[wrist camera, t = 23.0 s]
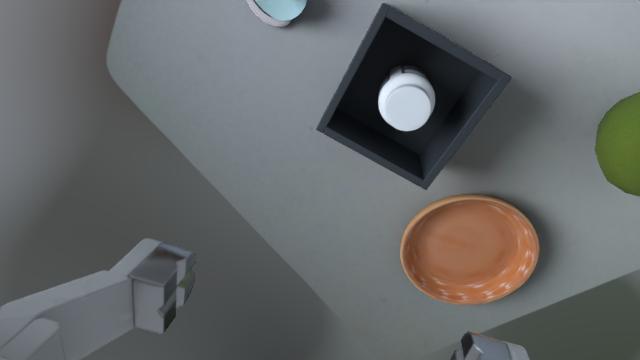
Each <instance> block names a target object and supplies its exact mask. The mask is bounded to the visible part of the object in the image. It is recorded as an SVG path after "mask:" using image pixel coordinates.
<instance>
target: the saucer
mask: <svg viewBox="0 0 640 360" xmlns="http://www.w3.org/2000/svg"><path fill="white" fill-rule="evenodd" d="M539 249H540V248H539V240H538V236H537V233H536V231H535V228H534V227H533V225H532V224H531V222H530V221H529V219H528V218H527V217H526V216H525V215H524V214H523V213H522V212H521V211H519V210H518V209H517V208H516V207H514V206H513V205H511V204H509V203H508V202H506V201H503V200H501V199H498V198H495V197H491V196H487V195H479V194H463V195H456V196H452V197H448V198H444V199H441V200H439V201H437V202H434V203H432V204H431V205H429V206H427V207H426V208H424V209H423V210H422V211H420V212H419V213H418V214H417V215H416V216H415V217H414V218H413V219H412V220H411V222H410V223H409V224H408V226H407V228H406V230H405V232H404V234H403V237H402V242H401V247H400V257H401V263H402V266H403V269H404V271H405V273H406V275H407V276H408V278H409V279H410V280H411V282H412V283H413V284H414V285H415V286H416V287H417V288H419V289H420V290H421V291H422V292H424V293H425V294H427V295H429V296H431V297H433V298H435V299H438V300H440V301H444V302H447V303H452V304H459V305H476V304H483V303H488V302H492V301H495V300H498V299H500V298H503V297H505V296H507V295H509V294H510V293H512V292H514V291H515V290H516V289H518V288H519V287H520V286H522V285H523V284H524V283H525V282H526V281H527V279H528V278H529V277H530V275H531V274H532V272H533V271H534V269H535V266H536V264H537V261H538V257H539Z"/></svg>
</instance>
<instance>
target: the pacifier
mask: <svg viewBox="0 0 640 360" xmlns="http://www.w3.org/2000/svg"><path fill="white" fill-rule="evenodd" d="M246 1H247V3H248V5H249V6H250V8H251V9H252V11H253V12H254V13H255V14H256V15H257V16H258V17H259V18H260V19H261V20H262V21H264V22H266V23H267V24H269V25H272V26H274V27H283V26H287V25H288V24H289V23H290V22H291V21H292V19H294V18H295V17H297V16H298V15H300V14H301V12H302V11H303V10H304V8H305V6H306V4H307V0H246ZM260 7H261V8H262V9H263V10H264V11H265V12H266V13H265V12H264V11H263V10H262V9H261V8H260ZM268 14H269V15H268Z"/></svg>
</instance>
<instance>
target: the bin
mask: <svg viewBox="0 0 640 360" xmlns="http://www.w3.org/2000/svg"><path fill="white" fill-rule="evenodd" d="M400 65H413V66H416V67H418V68H420V69H421V70H422V71H423V72H424V73H425V74H426V76H427V77H428V80H429V82H430V84H431V85H432V87H433V90H434V93H435V106H434V109H433V112H432V114H431V115H430V117H429V118H428V120H427V121H426V123H425V124H424V125H423V126H421V127H420V128H418V129H416V130H412V131H401V130H398V129H396V128H394V127H393V126H391V125H390V124H388V123H387V122H386V121H385V120H384V118H383V117H382V115H381V113H380V111H379V106H378V97H379V89H380V84H381V81H382V79H383V77H384V76H385V75H386V73H387V72H389V71H390V70H391V69H393V68H395V67H397V66H400ZM511 78H512V77H511V76H509V75H507V74H506V73H504V72H503V71H501V70H500V69H498V68H496V67H495V66H493V65H492V64H490V63H488V62H487V61H485V60H483V59H481V58H480V57H478V56H476V55H474V54H473V53H471V52H469V51H467V50H466V49H464V48H462V47H461V46H459V45H457V44H455V43H454V42H452V41H450V40H448V39H447V38H445V37H443V36H441V35H440V34H438V33H436V32H434V31H433V30H431V29H429V28H428V27H426V26H424V25H422V24H421V23H419V22H417V21H415V20H414V19H412V18H410V17H408V16H407V15H405V14H403V13H401V12H400V11H398V10H396V9H395V8H393V7H391V6H389V5H388V4H386V3H382V5H381V7H380V8H379V10H378V12H377V14H376V16H375V18H374V20H373V22H372V24H371V26H370V27H369V29H368V31H367V33H366V35H365V37H364V39H363V41H362V43H361V45H360V46H359V48H358V50H357V52H356V54H355V56H354V58H353V60H352V62H351V64H350V65H349V67H348V69H347V71H346V73H345V75H344V77H343V79H342V81H341V83H340V84H339V86H338V88H337V90H336V92H335V94H334V96H333V98H332V100H331V102H330V103H329V105H328V107H327V109H326V111H325V113H324V115H323V117H322V119H321V121H320V122H319V124H318V126H317V128H316V130H318V131H320V132H322V133H323V134H325V135H327V136H329V137H331V138H332V139H334V140H336V141H338V142H340V143H341V144H343V145H345V146H347V147H349V148H351V149H352V150H354V151H356V152H358V153H360V154H362V155H363V156H365V157H367V158H369V159H371V160H372V161H374V162H376V163H378V164H380V165H382V166H383V167H385V168H387V169H389V170H391V171H392V172H394V173H396V174H398V175H400V176H402V177H403V178H405V179H407V180H409V181H411V182H412V183H414V184H416V185H418V186H420V187H422V188H423V189H425V190H427V188H428V187H429V186H430V184H431V183H432V182H433V180H434V179H435V178H436V176H437V175H438V174H439V173H440V171H441V170H442V169H443V167H444V166H445V165H446V163H447V162H448V161H449V159H450V158H451V157H452V155H453V154H454V153H455V152H456V150H457V149H458V148H459V146H460V145H461V144H462V142H463V141H464V140H465V138H466V137H467V136H468V134H469V133H470V132H471V130H472V129H473V128H474V127H475V125H476V124H477V123H478V121H479V120H480V119H481V117H482V116H483V115H484V113H485V112H486V111H487V109H488V108H489V107H490V106H491V104H492V103H493V102H494V100H495V99H496V98H497V96H498V95H499V94H500V92H501V91H502V90H503V88H504V87H505V86H506V85H507V83H508V82H509V81H510V79H511Z"/></svg>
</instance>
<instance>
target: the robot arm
mask: <svg viewBox="0 0 640 360" xmlns="http://www.w3.org/2000/svg"><path fill="white" fill-rule="evenodd" d="M195 263H196V254H195V253H194V252H192V251H189V250H186V249H183V248H180V247H176V246H174V245H170V244H167V243H164V242H159V241H157V240H153V239H150V238H146V239H143V240H142V241H141V242H140V243H139V244H138V245H137V246H135V247H134V248H133V249H132V250H131V251H130V252H129V253H128V254H127V255H126V256H125V257H124V258H123V259H122V260H120V261H119V262H118V263H117V264H116V265H115V266H114V267H113V268H112V269H111V270H110V271H105V270H103V271H100V272H97V273H94V274H91V275H88V276H85V277H82V278H79V279H76V280H73V281H70V282H68V283H65V284H62V285H59V286H56V287H53V288H50V289H47V290H44V291H41V292H38V293H35V294H32V295H30V296H27V297H23V298H20V299H17V300H14V301H11V302H8V303H6V304H4V305H3V306H2V307H0V360H80V359H82V358H83V357H85V356H87V355H89V354H90V353H92V352H94V351H96V350H97V349H99V348H101V347H102V346H104V345H106V344H107V343H109V342H111V341H113V340H114V339H116V338H118V337H120V336H121V335H123V334H125V333H126V332H128V331H130V330H132V329H133V328H134V327H138V328H142V329H145V330H149V331H152V332H156V333H160V334H163V333H164V332H165V331H166V329H167V328H168V326H169V325H170V323H171V322H172V321H173V319H174V318H175V315H176V308H177V307H179V306H182V305H184V303H185V302H186V300H187V299H188V297H189V295H190V293H191V290H192V288H193V284H194V280H195V273H194V272H193V270H192V267H193V266H194V264H195ZM461 343H462V348H460V349H457V350H455V352H454V353H453V355H452V357H451V360H529V357H528V354H527V352H526V350H525V349H524V348H523V346H519V345H516V344H512V343H508V342H505V341H504V342H503V341H500V340H497V339H493V338H490V337H486V336H483V335H479V334H476V333H472V332H469V331H468V332H467V333H465V334H464V336H463V337H462V339H461Z"/></svg>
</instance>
